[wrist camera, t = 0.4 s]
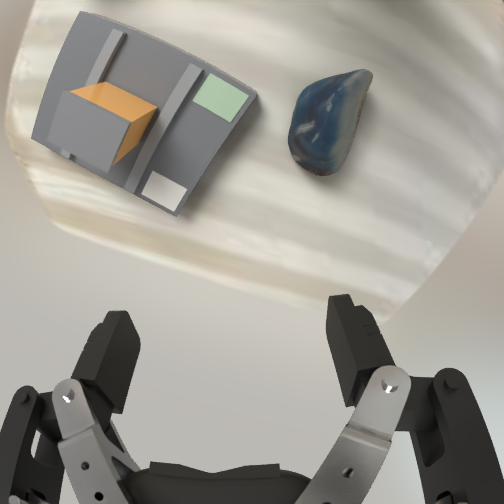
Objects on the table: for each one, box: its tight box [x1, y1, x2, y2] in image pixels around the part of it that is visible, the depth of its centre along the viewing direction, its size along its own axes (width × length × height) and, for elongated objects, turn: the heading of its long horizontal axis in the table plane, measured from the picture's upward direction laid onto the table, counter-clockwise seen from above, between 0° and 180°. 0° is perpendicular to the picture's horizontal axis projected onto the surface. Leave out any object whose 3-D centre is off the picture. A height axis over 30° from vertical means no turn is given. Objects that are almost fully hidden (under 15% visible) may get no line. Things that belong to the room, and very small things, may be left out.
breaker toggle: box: [47, 82, 157, 173], centre depth 20 cm, size 4×6×7 cm
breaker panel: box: [31, 11, 257, 217], centre depth 24 cm, size 15×20×4 cm
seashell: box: [288, 69, 373, 176], centre depth 25 cm, size 6×9×10 cm
